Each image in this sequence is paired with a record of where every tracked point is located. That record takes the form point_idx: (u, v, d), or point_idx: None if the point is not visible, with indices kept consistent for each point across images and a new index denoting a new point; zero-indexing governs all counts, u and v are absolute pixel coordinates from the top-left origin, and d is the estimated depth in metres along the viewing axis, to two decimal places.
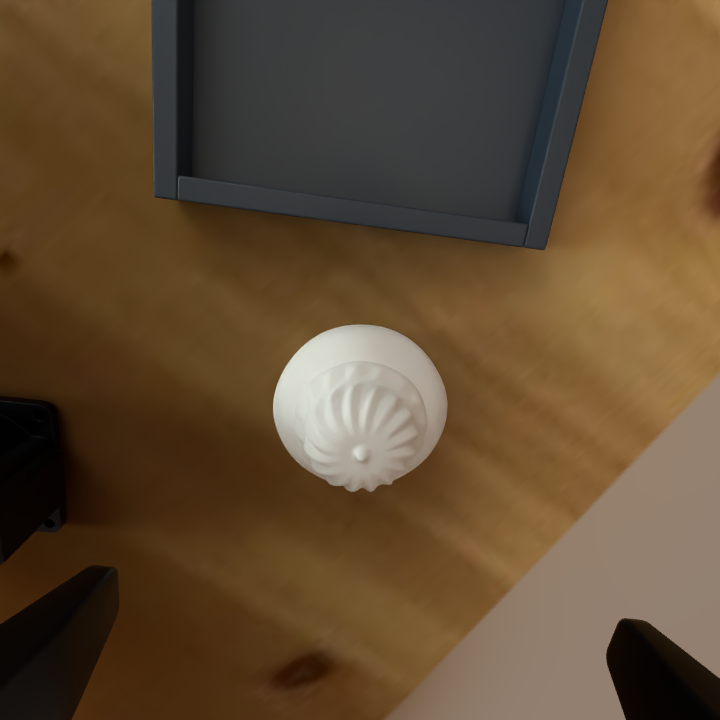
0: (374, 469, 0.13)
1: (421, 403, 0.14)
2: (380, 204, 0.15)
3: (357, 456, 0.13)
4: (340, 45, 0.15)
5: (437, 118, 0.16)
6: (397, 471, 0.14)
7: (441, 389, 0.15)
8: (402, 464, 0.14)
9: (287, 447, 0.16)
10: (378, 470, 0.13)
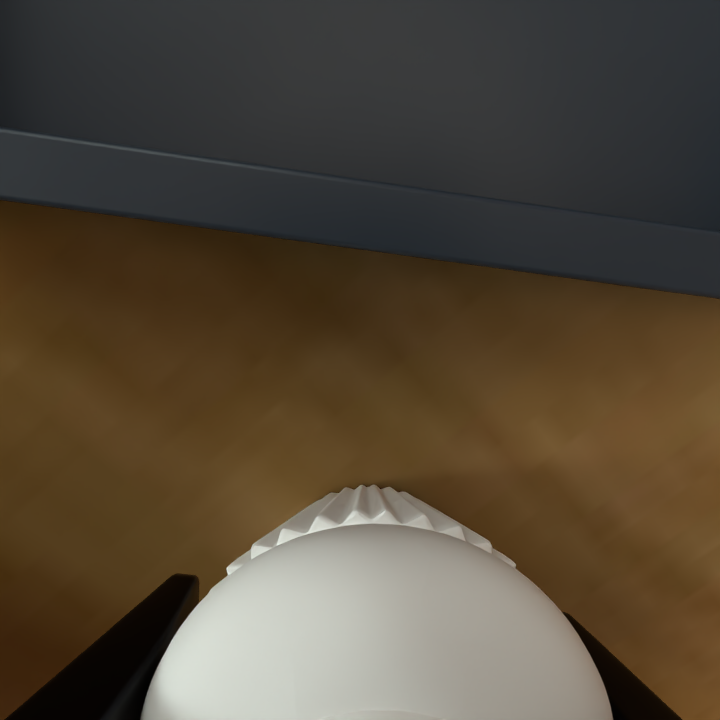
0: None
1: None
2: (439, 193, 0.05)
3: None
4: None
5: None
6: None
7: None
8: None
9: None
10: None
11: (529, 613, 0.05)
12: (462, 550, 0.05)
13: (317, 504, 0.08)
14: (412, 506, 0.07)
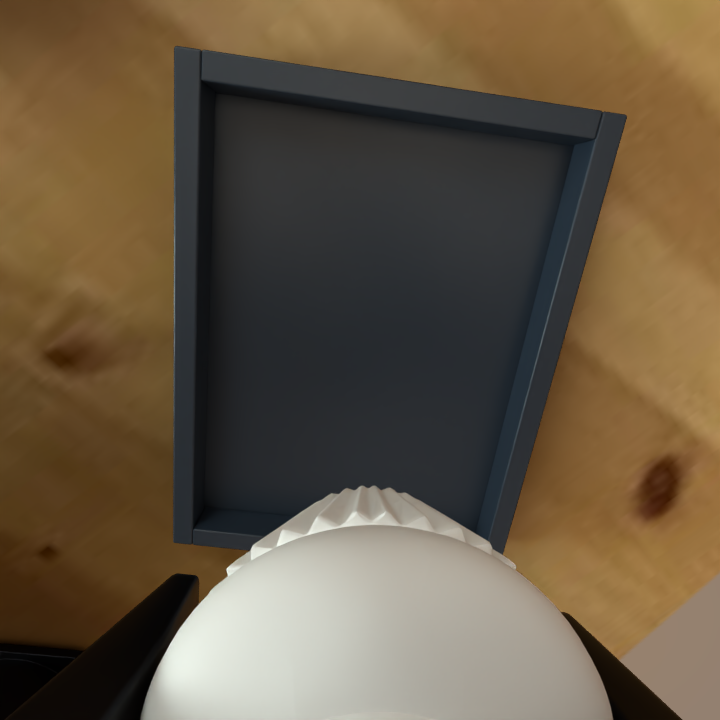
0: None
1: None
2: None
3: None
4: (326, 420, 0.18)
5: (407, 466, 0.19)
6: None
7: None
8: None
9: None
10: None
11: (529, 615, 0.05)
12: (462, 552, 0.05)
13: (317, 505, 0.08)
14: (412, 507, 0.07)
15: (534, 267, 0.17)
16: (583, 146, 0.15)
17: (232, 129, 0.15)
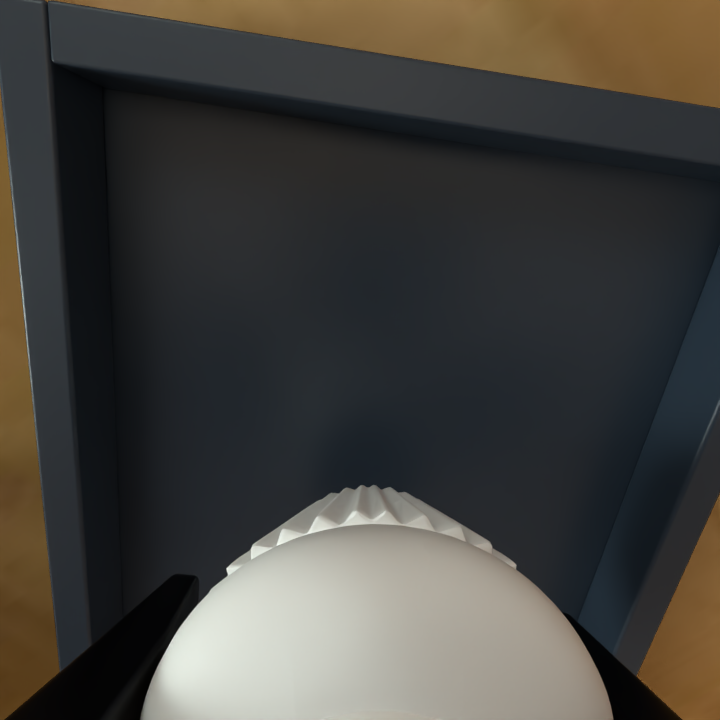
0: None
1: None
2: None
3: None
4: None
5: None
6: None
7: None
8: None
9: None
10: None
11: (529, 614, 0.05)
12: (462, 550, 0.05)
13: (317, 504, 0.08)
14: (412, 506, 0.07)
15: (653, 381, 0.10)
16: None
17: (137, 154, 0.08)
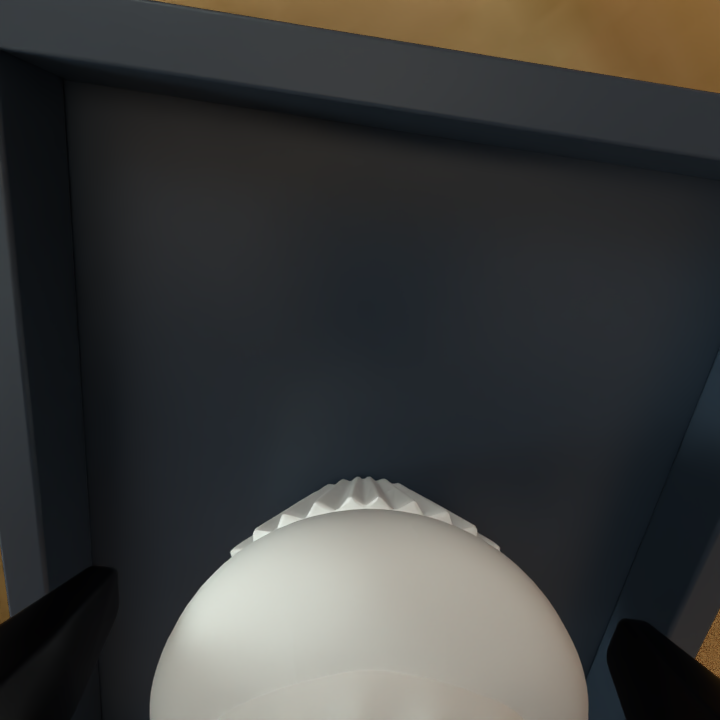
0: None
1: None
2: None
3: None
4: None
5: None
6: None
7: (583, 692, 0.06)
8: None
9: None
10: None
11: (507, 587, 0.06)
12: (447, 531, 0.06)
13: (315, 494, 0.08)
14: (403, 494, 0.07)
15: (679, 406, 0.09)
16: None
17: (104, 154, 0.07)
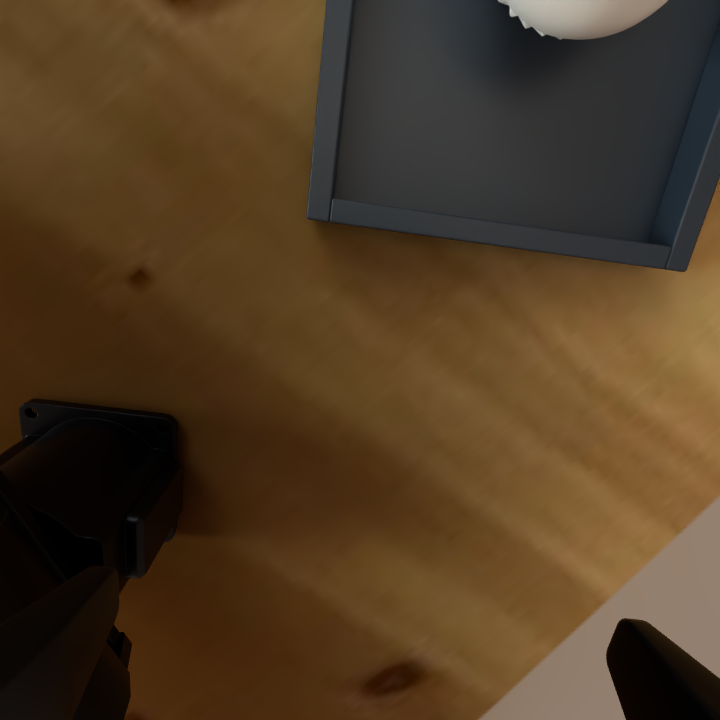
0: None
1: None
2: (527, 227, 0.16)
3: None
4: (491, 70, 0.15)
5: (580, 141, 0.16)
6: None
7: None
8: None
9: None
10: None
11: None
12: None
13: None
14: None
15: None
16: None
17: None
